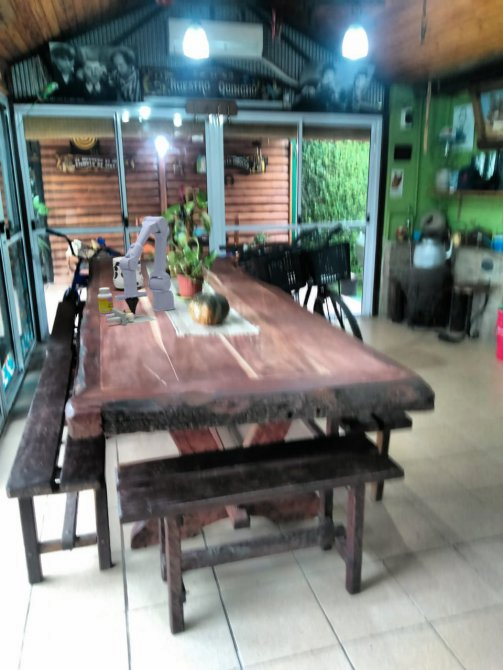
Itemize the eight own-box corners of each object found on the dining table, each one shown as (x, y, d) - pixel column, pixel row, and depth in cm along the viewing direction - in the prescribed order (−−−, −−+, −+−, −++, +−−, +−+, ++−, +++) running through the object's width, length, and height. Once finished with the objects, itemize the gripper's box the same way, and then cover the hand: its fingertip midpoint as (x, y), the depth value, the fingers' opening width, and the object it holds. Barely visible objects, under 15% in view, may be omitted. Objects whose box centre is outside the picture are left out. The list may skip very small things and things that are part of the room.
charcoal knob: (128, 315, 238) (128, 308, 237) (131, 317, 235) (131, 309, 234) (105, 319, 232) (104, 311, 231) (107, 321, 229) (107, 313, 228)
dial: (130, 319, 234) (129, 308, 232) (132, 320, 232) (131, 309, 230) (125, 320, 232) (124, 309, 231) (127, 321, 231) (126, 310, 229)
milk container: (150, 287, 309) (147, 256, 304) (129, 292, 295) (126, 260, 290) (129, 284, 318) (126, 255, 313) (107, 290, 304) (104, 259, 299)
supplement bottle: (110, 317, 241) (107, 289, 238) (97, 316, 243) (93, 289, 239) (116, 313, 247) (113, 287, 244) (103, 313, 249) (100, 286, 245)
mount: (144, 315, 243) (143, 303, 241) (156, 321, 232) (155, 308, 231) (113, 320, 235) (111, 308, 234) (123, 326, 224) (122, 314, 223)
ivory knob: (131, 319, 231) (130, 311, 230) (134, 321, 228) (133, 313, 227) (107, 323, 225) (106, 315, 224) (109, 325, 222) (108, 317, 221)
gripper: (117, 287, 226) (120, 318, 230) (149, 283, 233) (151, 313, 237) (112, 285, 231) (115, 315, 235) (143, 281, 239) (145, 310, 243)
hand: (133, 314), depth 237 cm, fingers closed
